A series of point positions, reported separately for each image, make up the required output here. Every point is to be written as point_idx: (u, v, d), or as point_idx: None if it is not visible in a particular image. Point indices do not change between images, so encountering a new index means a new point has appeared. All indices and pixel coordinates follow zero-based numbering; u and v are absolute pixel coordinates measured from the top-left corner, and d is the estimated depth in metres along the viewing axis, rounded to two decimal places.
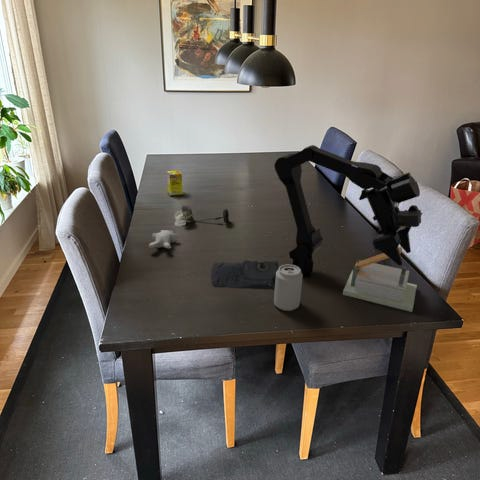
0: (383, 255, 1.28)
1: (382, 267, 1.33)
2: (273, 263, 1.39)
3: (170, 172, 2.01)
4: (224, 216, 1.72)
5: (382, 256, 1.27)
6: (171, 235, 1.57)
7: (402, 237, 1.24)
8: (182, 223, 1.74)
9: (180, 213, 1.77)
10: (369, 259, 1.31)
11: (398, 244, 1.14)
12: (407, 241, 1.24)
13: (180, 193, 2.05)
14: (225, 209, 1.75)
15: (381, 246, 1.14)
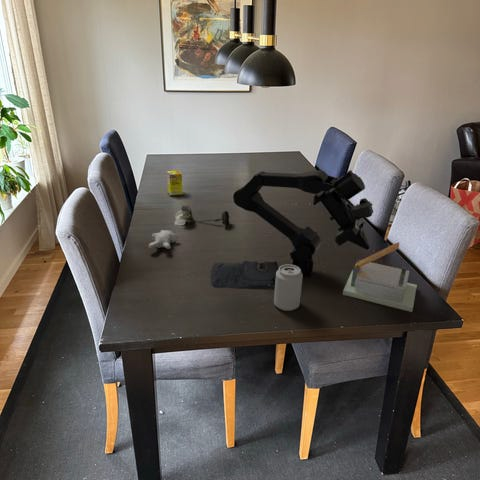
0: (381, 252, 1.27)
1: (382, 267, 1.33)
2: (273, 264, 1.39)
3: (170, 172, 2.01)
4: (223, 218, 1.71)
5: (380, 253, 1.27)
6: (171, 235, 1.57)
7: None
8: (181, 223, 1.74)
9: (181, 213, 1.77)
10: (368, 258, 1.31)
11: (361, 230, 1.25)
12: None
13: (180, 193, 2.05)
14: (225, 211, 1.73)
15: (343, 241, 1.21)
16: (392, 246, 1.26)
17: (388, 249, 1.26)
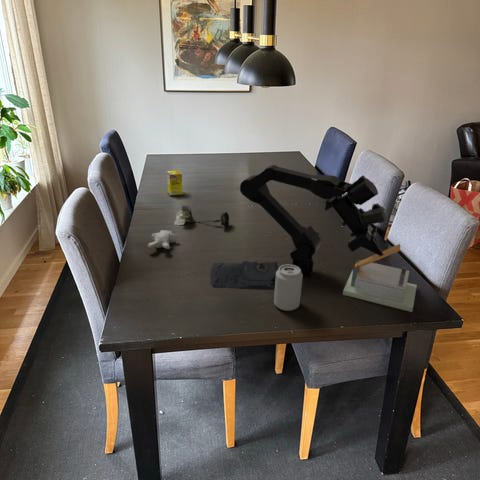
0: (382, 253, 1.27)
1: (382, 267, 1.33)
2: (273, 264, 1.38)
3: (170, 172, 2.01)
4: (221, 219, 1.69)
5: (381, 254, 1.27)
6: (170, 235, 1.57)
7: None
8: (181, 223, 1.74)
9: (181, 212, 1.78)
10: (368, 258, 1.31)
11: (373, 236, 1.24)
12: None
13: (180, 193, 2.05)
14: None
15: (356, 247, 1.20)
16: (393, 248, 1.26)
17: (389, 251, 1.26)
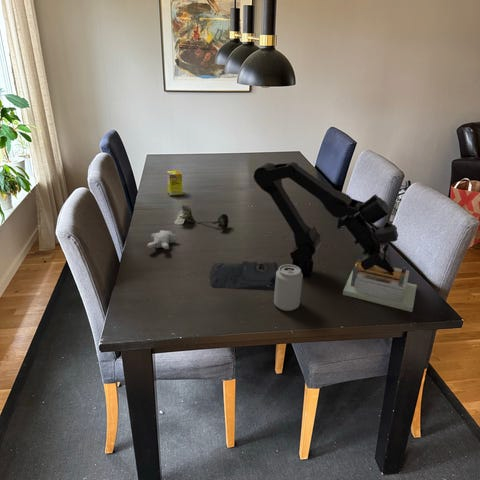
0: (386, 271, 1.29)
1: None
2: (272, 264, 1.38)
3: (170, 172, 2.01)
4: (219, 221, 1.68)
5: (385, 272, 1.29)
6: (170, 235, 1.57)
7: None
8: (180, 222, 1.74)
9: None
10: (371, 267, 1.31)
11: (386, 254, 1.25)
12: None
13: (180, 193, 2.05)
14: (223, 214, 1.70)
15: (369, 266, 1.21)
16: (399, 273, 1.28)
17: (394, 273, 1.28)
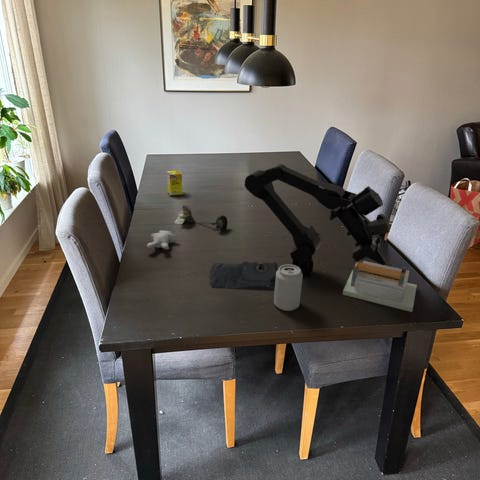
0: (386, 271, 1.29)
1: None
2: (272, 264, 1.38)
3: (170, 172, 2.01)
4: (216, 222, 1.67)
5: (385, 272, 1.29)
6: (169, 235, 1.57)
7: None
8: (180, 222, 1.75)
9: None
10: (371, 267, 1.31)
11: (378, 246, 1.25)
12: None
13: (180, 193, 2.05)
14: None
15: (361, 258, 1.21)
16: (399, 273, 1.28)
17: (394, 273, 1.28)
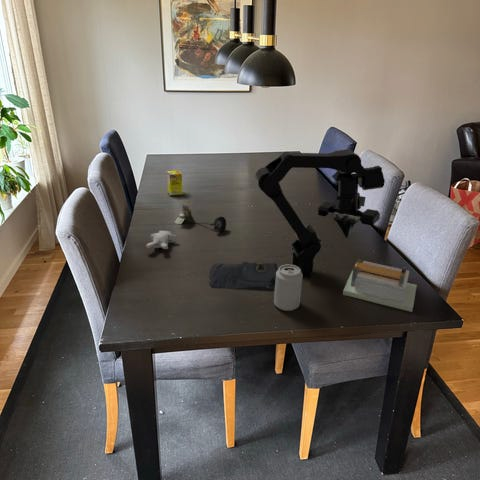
0: (386, 271, 1.29)
1: None
2: (272, 265, 1.38)
3: (170, 172, 2.01)
4: (214, 223, 1.66)
5: (385, 272, 1.29)
6: (169, 236, 1.57)
7: (345, 223, 1.37)
8: (180, 221, 1.75)
9: None
10: (371, 267, 1.31)
11: None
12: None
13: (180, 193, 2.05)
14: None
15: (375, 221, 1.29)
16: (399, 273, 1.28)
17: (394, 273, 1.28)
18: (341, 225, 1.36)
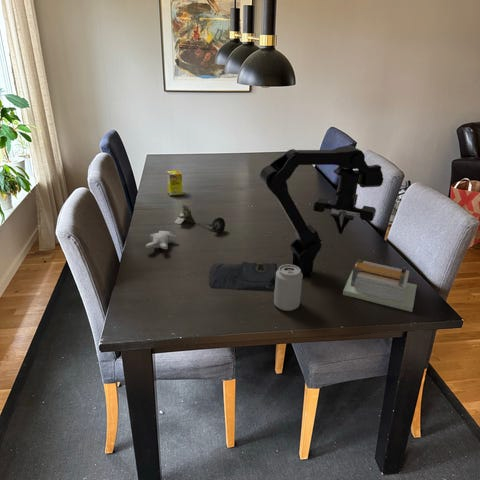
0: (386, 271, 1.29)
1: None
2: (272, 265, 1.38)
3: (170, 172, 2.01)
4: (212, 224, 1.65)
5: (385, 272, 1.29)
6: (169, 236, 1.57)
7: (340, 219, 1.38)
8: (179, 221, 1.75)
9: None
10: (371, 267, 1.31)
11: None
12: (341, 223, 1.39)
13: (180, 193, 2.05)
14: None
15: (373, 217, 1.32)
16: (399, 273, 1.28)
17: (394, 273, 1.28)
18: (338, 221, 1.36)
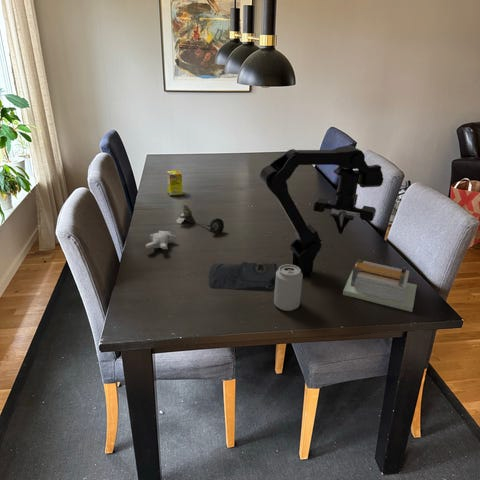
0: (386, 271, 1.29)
1: None
2: (272, 265, 1.38)
3: (170, 172, 2.01)
4: (210, 224, 1.64)
5: (385, 272, 1.29)
6: (169, 236, 1.57)
7: (340, 219, 1.38)
8: (180, 221, 1.76)
9: None
10: (371, 267, 1.31)
11: None
12: (341, 223, 1.39)
13: (180, 193, 2.05)
14: (217, 218, 1.66)
15: (373, 217, 1.32)
16: (399, 273, 1.28)
17: (394, 273, 1.28)
18: (338, 221, 1.36)
